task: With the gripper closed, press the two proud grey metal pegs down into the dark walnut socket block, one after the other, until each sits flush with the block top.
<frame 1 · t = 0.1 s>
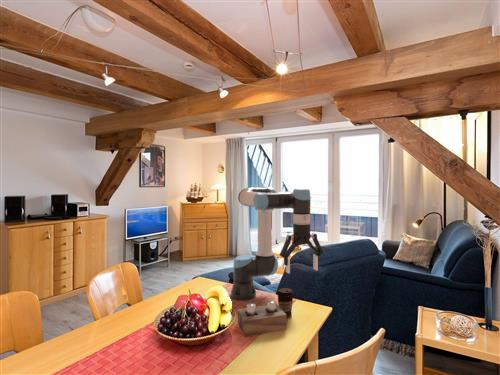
hand: (301, 271, 123), 28 cm above the table, fingers open, 13 cm apart
peg back: (271, 308, 131), point 8 cm above the table, slide at 4.0 cm
socket block: (261, 326, 130), on the table
peg front: (251, 311, 128), point 8 cm above the table, slide at 4.0 cm
coffee cup: (285, 316, 141), on the table
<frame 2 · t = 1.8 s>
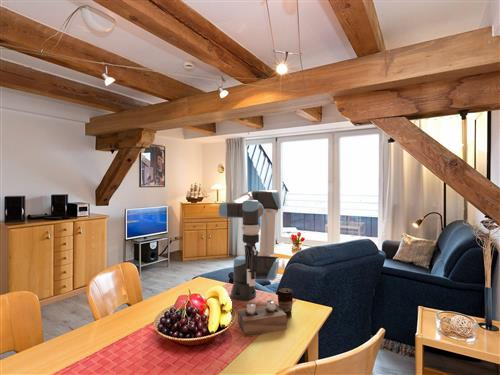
hand: (251, 284, 128), 21 cm above the table, fingers open, 3 cm apart
nothing on the table moved.
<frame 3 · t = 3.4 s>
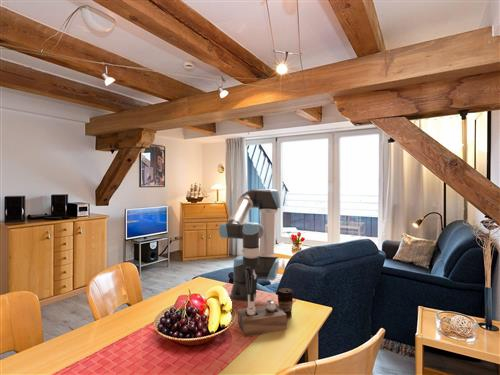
hand: (251, 307, 128), 10 cm above the table, fingers closed
peg front: (251, 314, 128), point 7 cm above the table, slide at 2.7 cm, touching gripper
everything else where it was.
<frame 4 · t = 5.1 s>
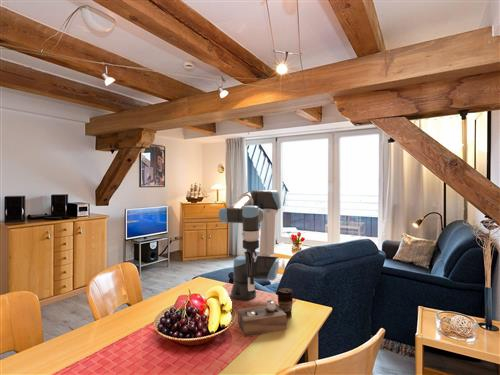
hand: (251, 290, 128), 18 cm above the table, fingers closed
peg front: (251, 318, 128), point 4 cm above the table, slide at 0.4 cm
everything else where it was.
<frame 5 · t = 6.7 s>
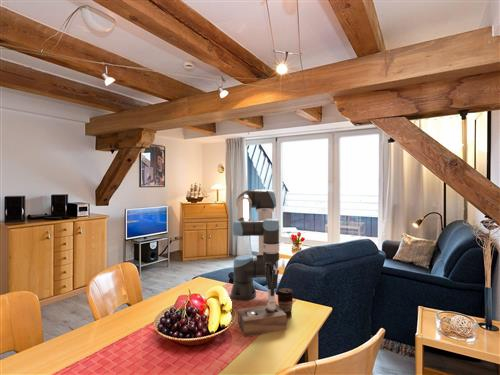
hand: (271, 301, 131), 11 cm above the table, fingers closed
peg back: (271, 308, 131), point 8 cm above the table, slide at 3.9 cm, touching gripper
everything else where it was.
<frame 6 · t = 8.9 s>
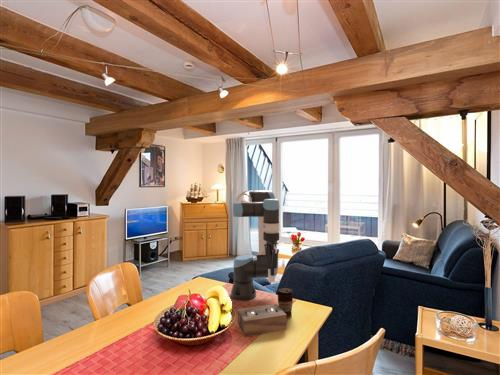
hand: (271, 281, 131), 21 cm above the table, fingers closed
peg back: (271, 315, 131), point 4 cm above the table, slide at 0.4 cm
everything else where it was.
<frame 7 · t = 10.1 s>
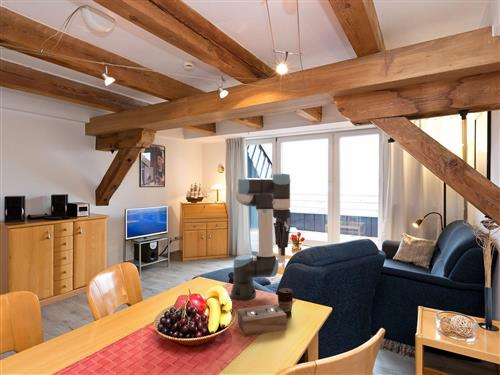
hand: (281, 262, 122), 32 cm above the table, fingers closed
nothing on the table moved.
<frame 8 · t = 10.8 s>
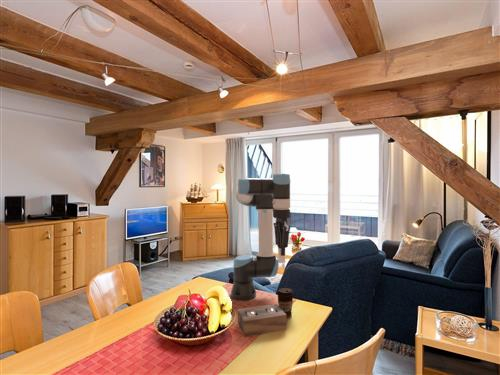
hand: (281, 262, 122), 32 cm above the table, fingers closed
nothing on the table moved.
at the end: peg front slide at 0.4 cm; peg back slide at 0.4 cm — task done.
